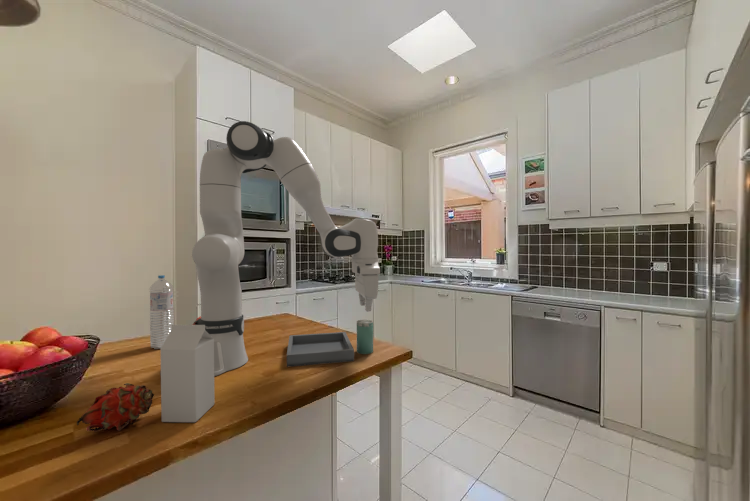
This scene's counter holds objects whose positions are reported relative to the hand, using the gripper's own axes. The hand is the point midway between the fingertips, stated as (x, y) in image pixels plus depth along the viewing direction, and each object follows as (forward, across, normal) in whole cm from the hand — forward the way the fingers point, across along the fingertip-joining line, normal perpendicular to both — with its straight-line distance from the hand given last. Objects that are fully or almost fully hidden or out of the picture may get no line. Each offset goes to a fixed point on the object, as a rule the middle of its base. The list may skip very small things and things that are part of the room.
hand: (365, 308), depth 104 cm
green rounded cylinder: (+15, 0, 0) cm, 15 cm away
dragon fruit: (+14, +31, -56) cm, 66 cm away
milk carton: (+14, +29, -44) cm, 55 cm away
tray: (+14, -2, -15) cm, 21 cm away
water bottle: (+14, -21, -69) cm, 73 cm away
